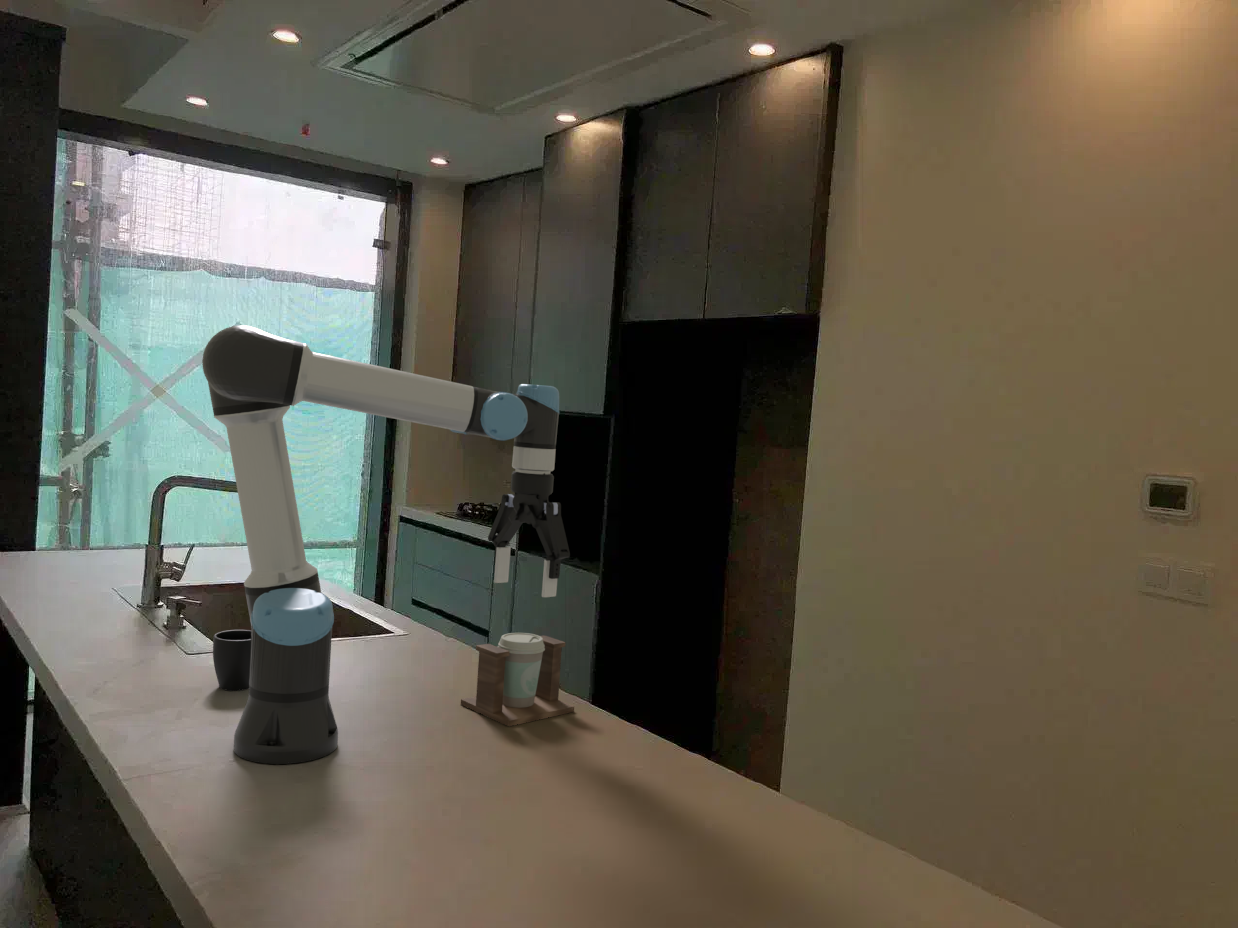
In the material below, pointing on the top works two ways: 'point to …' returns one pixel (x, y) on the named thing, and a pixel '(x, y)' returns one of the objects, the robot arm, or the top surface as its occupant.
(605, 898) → the top surface
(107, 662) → the top surface
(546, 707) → the wooden stand
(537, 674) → the coffee cup
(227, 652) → the mug
